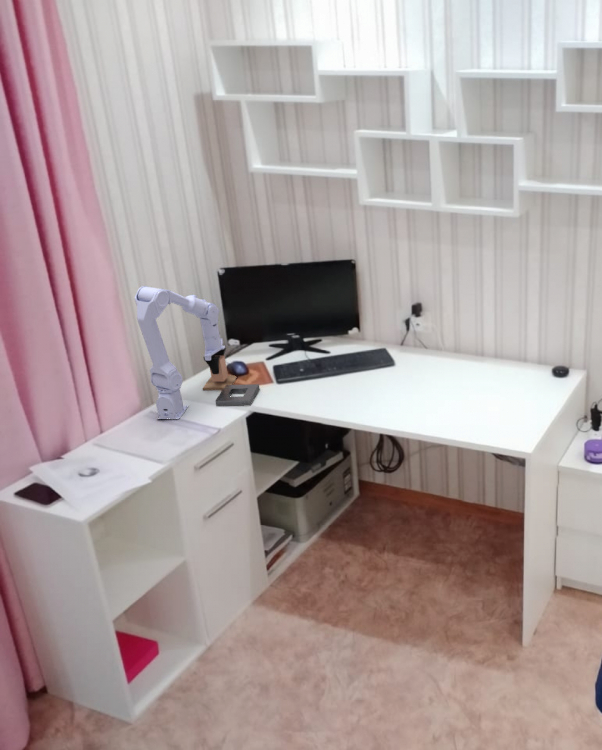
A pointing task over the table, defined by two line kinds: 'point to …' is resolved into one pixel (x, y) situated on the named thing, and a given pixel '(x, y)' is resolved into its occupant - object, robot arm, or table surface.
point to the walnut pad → (219, 383)
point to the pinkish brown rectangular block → (220, 371)
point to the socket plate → (248, 397)
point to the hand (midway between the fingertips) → (218, 370)
